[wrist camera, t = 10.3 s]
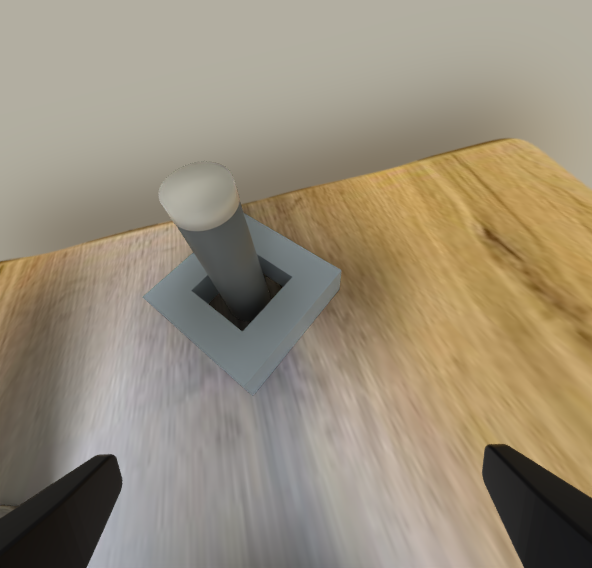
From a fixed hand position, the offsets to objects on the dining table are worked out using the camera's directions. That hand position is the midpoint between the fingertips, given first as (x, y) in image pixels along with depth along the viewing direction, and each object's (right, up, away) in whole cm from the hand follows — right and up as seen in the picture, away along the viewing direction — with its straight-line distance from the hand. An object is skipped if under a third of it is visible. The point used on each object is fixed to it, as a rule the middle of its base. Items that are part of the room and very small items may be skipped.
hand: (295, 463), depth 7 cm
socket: (-4, +3, +18) cm, 18 cm away
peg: (-4, +3, +18) cm, 19 cm away
